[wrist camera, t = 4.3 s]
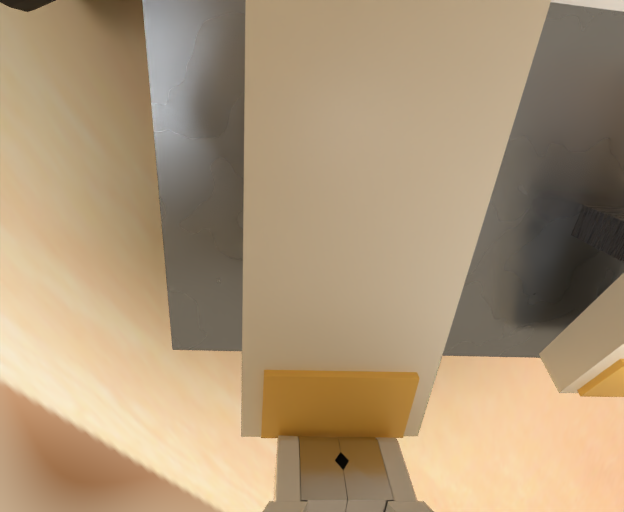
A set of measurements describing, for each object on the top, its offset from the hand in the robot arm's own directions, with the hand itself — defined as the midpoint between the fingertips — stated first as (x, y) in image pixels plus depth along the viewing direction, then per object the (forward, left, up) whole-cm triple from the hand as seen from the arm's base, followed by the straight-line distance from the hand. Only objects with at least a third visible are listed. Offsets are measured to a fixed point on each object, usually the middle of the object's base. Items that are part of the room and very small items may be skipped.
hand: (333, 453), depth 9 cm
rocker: (-5, 0, -2) cm, 6 cm away
